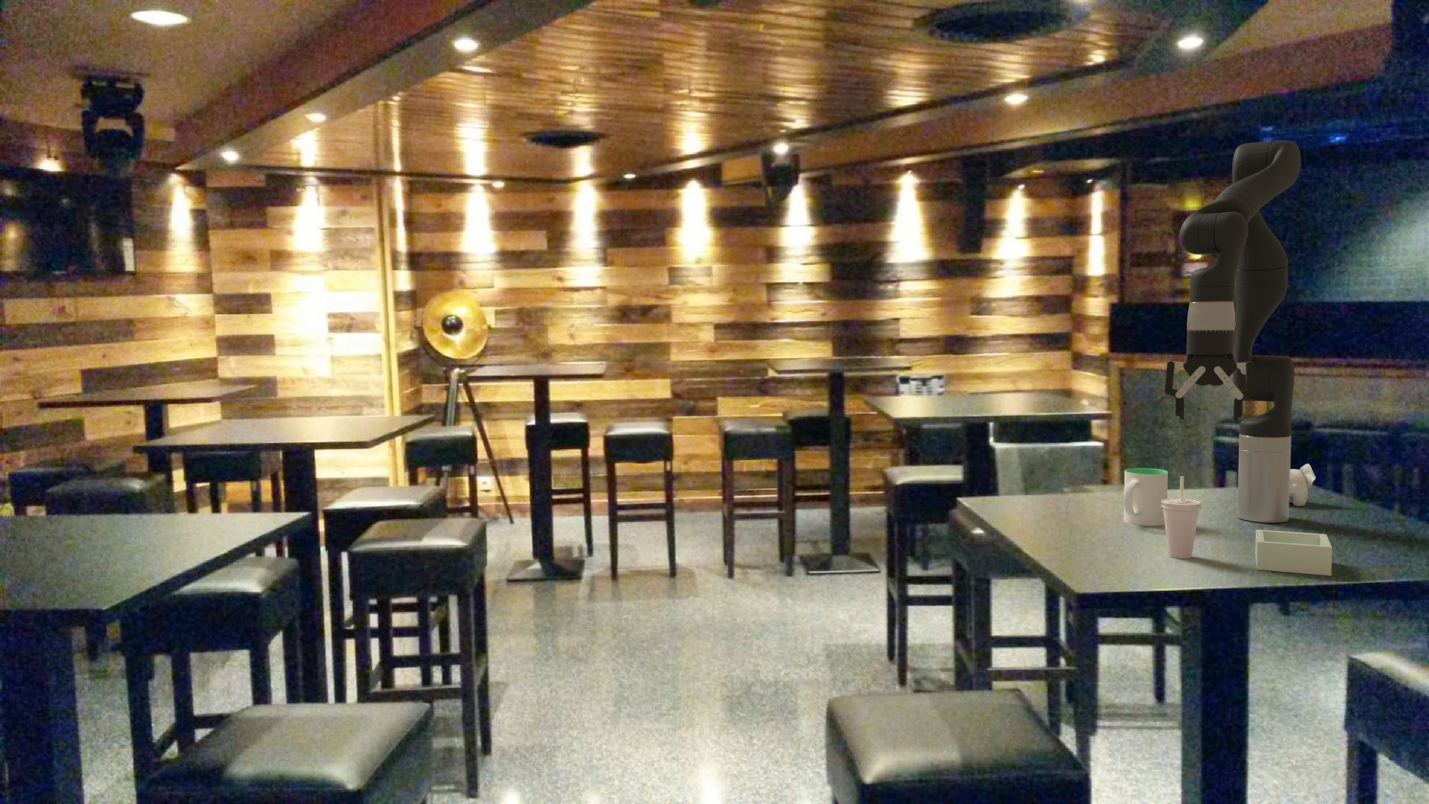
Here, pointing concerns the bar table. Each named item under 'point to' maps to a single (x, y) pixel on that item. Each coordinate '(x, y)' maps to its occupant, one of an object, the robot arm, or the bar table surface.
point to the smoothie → (1180, 524)
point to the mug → (1145, 496)
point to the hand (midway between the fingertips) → (1208, 419)
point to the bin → (1293, 552)
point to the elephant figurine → (1300, 484)
